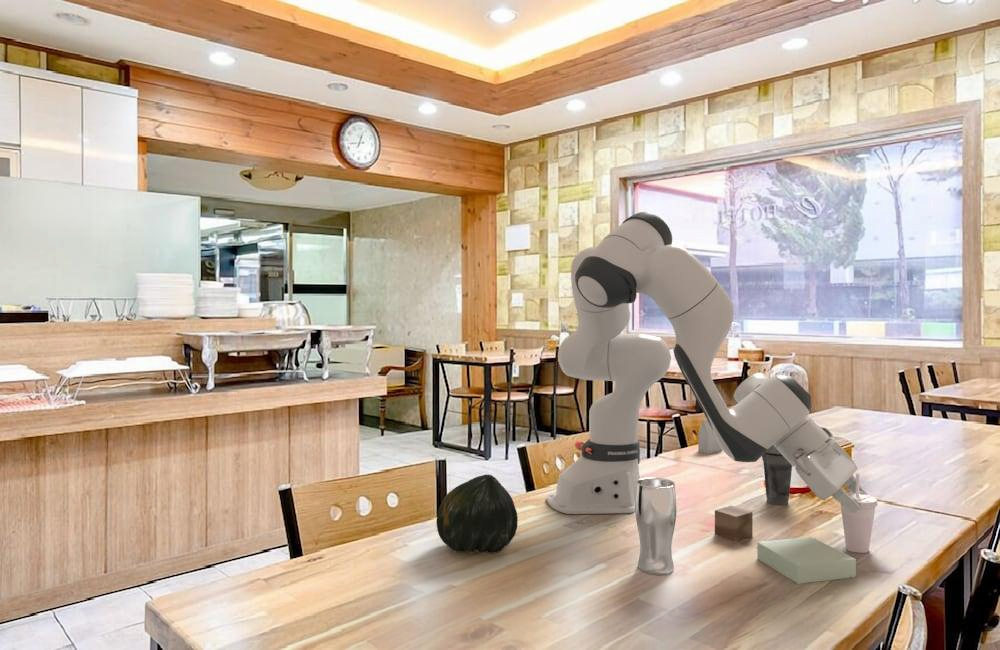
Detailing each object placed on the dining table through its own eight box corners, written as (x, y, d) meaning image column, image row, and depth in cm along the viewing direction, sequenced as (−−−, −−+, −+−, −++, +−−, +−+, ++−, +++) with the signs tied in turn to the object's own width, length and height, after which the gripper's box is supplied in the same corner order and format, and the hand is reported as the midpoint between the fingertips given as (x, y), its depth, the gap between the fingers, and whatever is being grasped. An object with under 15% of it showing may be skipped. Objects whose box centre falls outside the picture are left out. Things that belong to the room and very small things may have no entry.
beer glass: (653, 579, 110) (653, 490, 109) (627, 565, 116) (626, 480, 115) (685, 571, 113) (685, 484, 112) (657, 557, 119) (657, 475, 119)
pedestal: (798, 583, 108) (798, 565, 107) (757, 558, 118) (757, 542, 118) (855, 577, 110) (855, 559, 110) (810, 552, 121) (810, 536, 121)
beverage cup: (798, 507, 147) (798, 418, 147) (763, 506, 149) (764, 417, 148) (790, 498, 154) (791, 413, 154) (757, 496, 156) (758, 412, 155)
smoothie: (875, 545, 124) (876, 471, 123) (878, 557, 118) (879, 480, 118) (837, 540, 127) (837, 468, 126) (838, 552, 121) (839, 476, 120)
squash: (424, 509, 131) (442, 464, 121) (494, 503, 137) (516, 459, 127) (440, 577, 121) (460, 533, 112) (514, 566, 127) (539, 524, 118)
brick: (736, 542, 127) (736, 516, 126) (714, 535, 131) (714, 510, 131) (752, 537, 129) (752, 512, 129) (731, 530, 134) (731, 505, 133)
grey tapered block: (722, 450, 205) (722, 418, 204) (708, 453, 201) (708, 421, 200) (712, 448, 208) (712, 417, 207) (698, 451, 204) (698, 419, 203)
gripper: (803, 444, 118) (864, 509, 112) (829, 427, 134) (884, 482, 128) (777, 466, 121) (835, 529, 115) (805, 446, 137) (858, 501, 131)
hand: (861, 504), depth 122 cm, fingers closed on smoothie, 6 cm apart
